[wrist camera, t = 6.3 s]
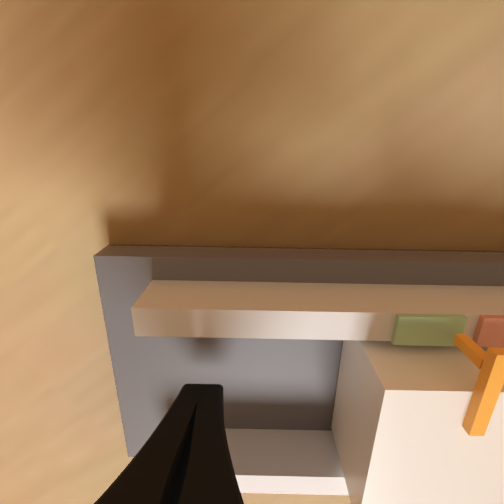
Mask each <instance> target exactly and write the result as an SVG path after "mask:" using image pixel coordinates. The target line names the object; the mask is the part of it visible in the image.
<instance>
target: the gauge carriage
mask: <svg viewBox="0 0 504 504" xmlns="http://www.w3.org/2000/svg"><path fill="white" fill-rule="evenodd" d="M453 343H454V344H455V345H456V346H414V345H393V344H392V342H391V341H360V340H343V346H342V353H341V360H340V367H339V375H338V382H337V389H336V396H335V404H334V411H333V418H332V425H331V429H332V433H333V436H334V440H335V444H336V448H337V451H338V455H339V459H340V463H341V467H342V470H343V474H344V478H345V482H346V485H347V489H348V493H349V497H350V501H351V504H504V347H480V346H479V345H477V344H476V343H475V342H474V341H473V340H472V339H471V338H470V337H469V336H468V335H466V334H455V337H454V341H453Z"/></svg>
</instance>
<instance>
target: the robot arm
mask: <svg viewBox="0 0 504 504" xmlns="http://www.w3.org/2000/svg"><path fill="white" fill-rule="evenodd" d="M94 504H244V503H243V499H242V496H241V493H240V490H239V486H238V483H237V479H236V476H235V472H234V468H233V464H232V460H231V456H230V452H229V447H228V442H227V437H226V431H225V425H224V394H223V386H222V385H220V384H185V385H184V386H183V387H182V389H181V390H180V392H179V394H178V396H177V397H176V399H175V400H174V402H173V404H172V405H171V407H170V408H169V410H168V411H167V413H166V414H165V416H164V417H163V419H162V420H161V422H160V423H159V425H158V426H157V427H156V429H155V430H154V432H153V433H152V435H151V436H150V437H149V439H148V440H147V441H146V443H145V444H144V445H143V446H142V448H141V449H140V450H139V452H138V453H137V454H136V455H135V457H134V458H133V459H132V461H131V462H130V463H129V464H128V466H127V467H126V468H125V469H124V470H123V472H122V473H121V474H120V475H119V476H118V478H117V479H116V480H115V481H114V482H113V483H112V484H111V486H110V487H109V488H108V489H107V490H106V491H105V492H104V493H103V495H102V496H101V497H100V498H99V499H98V500H97V501H96V502H95V503H94Z"/></svg>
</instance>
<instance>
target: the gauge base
mask: <svg viewBox="0 0 504 504" xmlns="http://www.w3.org/2000/svg"><path fill="white" fill-rule="evenodd" d="M94 262H95V268H96V274H97V279H98V285H99V291H100V297H101V302H102V308H103V314H104V320H105V326H106V331H107V337H108V343H109V349H110V354H111V360H112V366H113V372H114V377H115V383H116V389H117V395H118V400H119V406H120V412H121V418H122V423H123V429H124V435H125V441H126V446H127V452H128V457H135V455H136V454H137V453H138V452H139V450H140V449H141V448H142V446H143V445H144V444H145V443H146V441H147V440H148V439H149V437H150V436H151V435H152V433H153V432H154V430H155V429H156V427H157V426H158V425H159V423H160V422H161V420H162V419H163V417H164V416H165V414H166V413H167V411H168V410H169V408H170V407H171V405H172V404H173V402H174V400H175V399H176V397H177V396H178V394H179V392H180V390H181V389H182V387H183V386H184V385H185V384H220V385H222V386H223V394H224V425H225V431H226V437H227V442H228V447H229V452H230V456H231V460H232V464H233V468H234V472H235V476H236V479H237V483H238V486H239V490H240V493H271V494H317V495H349V493H348V489H347V485H346V482H345V478H344V474H343V470H342V467H341V463H340V459H339V455H338V451H337V448H336V444H335V440H334V436H333V433H332V429H331V425H332V418H333V411H334V404H335V396H336V389H337V382H338V375H339V367H340V360H341V353H342V346H343V340H360V341H391V342H392V344H393V345H414V346H456V345H455V344H454V343H453V341H454V337H455V334H466V335H468V336H469V337H470V338H471V339H472V340H473V341H474V342H475V343H476V344H477V345H479V346H480V347H504V252H476V251H418V250H361V249H304V248H247V247H190V246H133V245H108V246H107V247H105V248H104V249H102V250H101V251H100V252H98V253H97V254H95V255H94Z"/></svg>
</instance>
